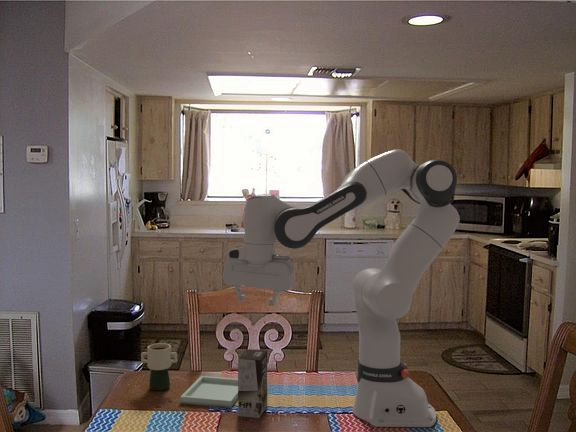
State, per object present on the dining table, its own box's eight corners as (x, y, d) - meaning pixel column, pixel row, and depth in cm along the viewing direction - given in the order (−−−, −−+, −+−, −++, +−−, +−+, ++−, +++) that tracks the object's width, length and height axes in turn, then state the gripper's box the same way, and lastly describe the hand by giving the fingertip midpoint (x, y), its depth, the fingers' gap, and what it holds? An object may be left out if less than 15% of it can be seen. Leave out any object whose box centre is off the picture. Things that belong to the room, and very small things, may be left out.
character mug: (179, 383, 181) (179, 342, 180) (175, 392, 174) (175, 350, 173) (144, 384, 181) (143, 342, 180) (138, 392, 174) (138, 350, 173)
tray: (247, 385, 180) (247, 379, 180) (231, 407, 163) (231, 401, 163) (201, 382, 183) (201, 375, 183) (180, 403, 166) (180, 396, 166)
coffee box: (260, 418, 156) (260, 360, 155) (237, 416, 158) (237, 358, 156) (268, 405, 165) (268, 349, 164) (246, 403, 167) (246, 348, 165)
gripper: (298, 255, 158) (296, 305, 159) (231, 248, 166) (229, 296, 167) (289, 258, 153) (287, 310, 154) (220, 251, 160) (218, 300, 161)
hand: (256, 303), depth 160 cm, fingers open, 8 cm apart
